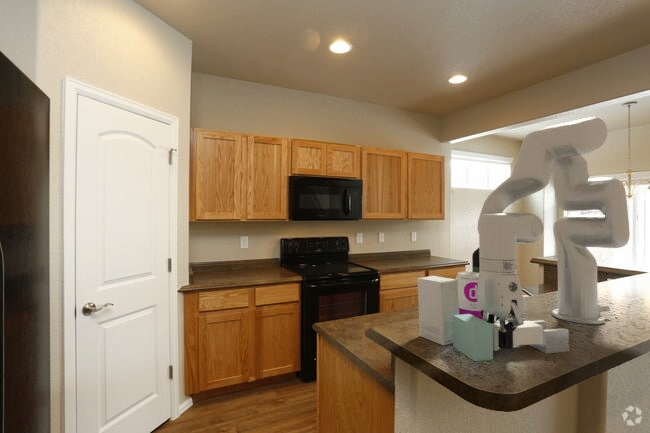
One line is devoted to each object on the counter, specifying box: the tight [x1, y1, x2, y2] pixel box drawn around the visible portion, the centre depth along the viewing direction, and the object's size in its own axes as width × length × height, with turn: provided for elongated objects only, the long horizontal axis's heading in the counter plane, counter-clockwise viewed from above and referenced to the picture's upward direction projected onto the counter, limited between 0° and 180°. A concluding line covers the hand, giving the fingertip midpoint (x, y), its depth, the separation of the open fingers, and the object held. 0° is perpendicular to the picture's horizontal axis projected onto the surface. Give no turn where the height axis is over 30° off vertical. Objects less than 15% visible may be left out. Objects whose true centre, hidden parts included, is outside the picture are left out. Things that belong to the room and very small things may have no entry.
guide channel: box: [528, 319, 570, 354], centre depth 76 cm, size 6×7×5 cm
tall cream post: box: [490, 320, 543, 352], centre depth 74 cm, size 17×5×5 cm, turn 100°
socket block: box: [452, 314, 494, 362], centre depth 73 cm, size 4×8×8 cm, turn 10°
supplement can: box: [455, 271, 483, 320], centre depth 91 cm, size 8×8×15 cm
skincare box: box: [416, 275, 459, 346], centre depth 81 cm, size 8×7×16 cm
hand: (498, 343), depth 74 cm, fingers closed on tall cream post, 4 cm apart
